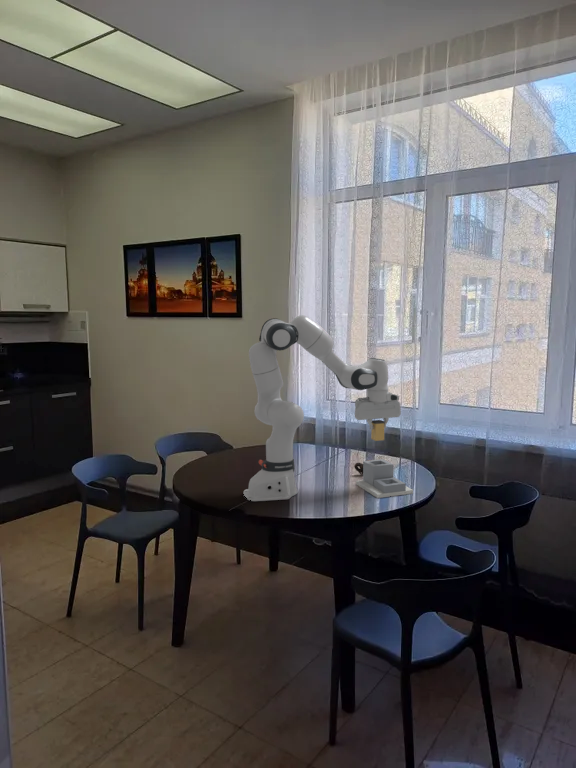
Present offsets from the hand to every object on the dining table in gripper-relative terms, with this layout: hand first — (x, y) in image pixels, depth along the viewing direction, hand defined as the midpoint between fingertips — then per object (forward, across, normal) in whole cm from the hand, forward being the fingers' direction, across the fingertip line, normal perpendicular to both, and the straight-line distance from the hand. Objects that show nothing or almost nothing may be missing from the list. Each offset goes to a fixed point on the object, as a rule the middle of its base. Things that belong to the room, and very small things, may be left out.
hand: (377, 428), depth 224 cm
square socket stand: (+25, 0, -5) cm, 25 cm away
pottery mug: (+25, +3, +15) cm, 29 cm away
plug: (+5, 0, 0) cm, 5 cm away
